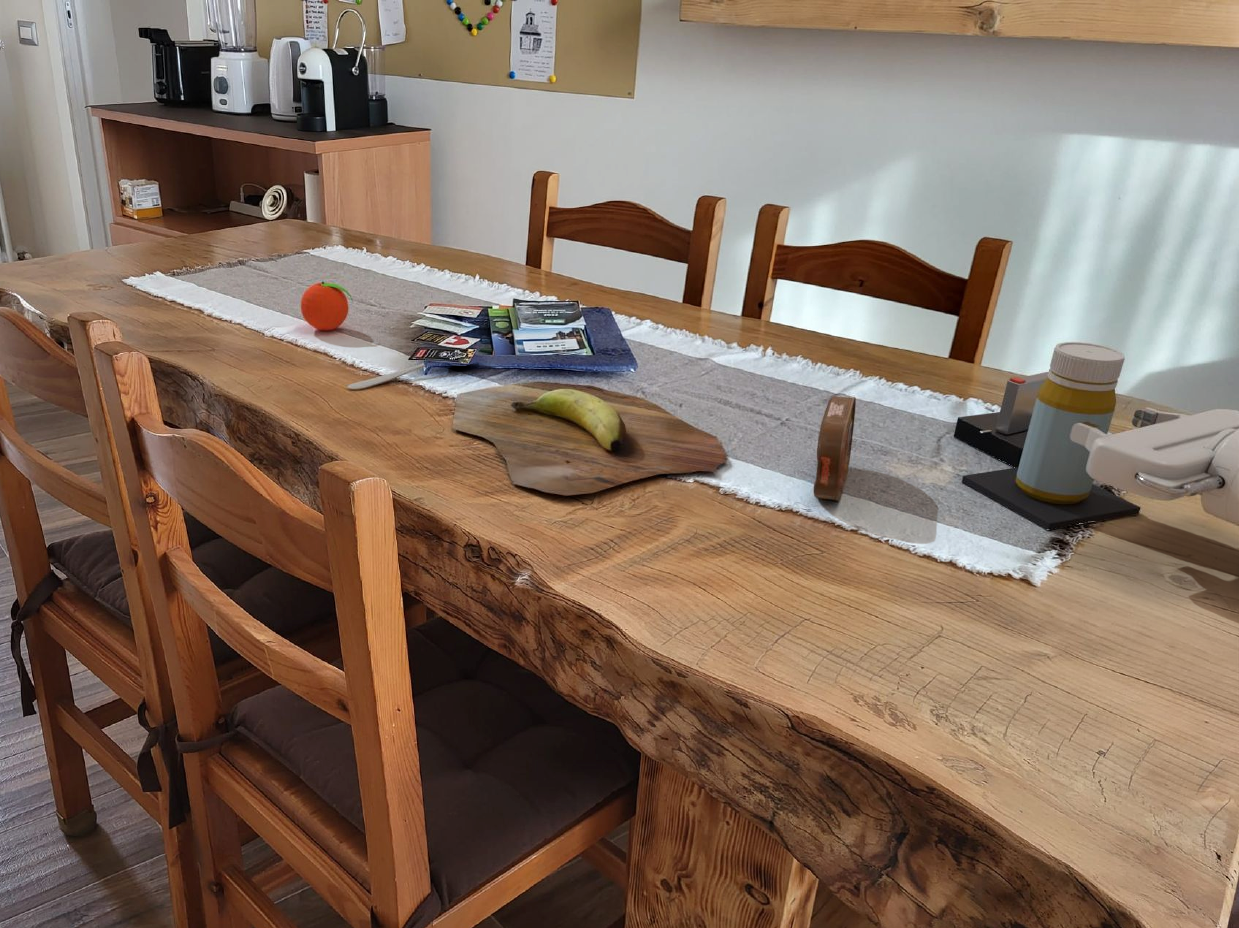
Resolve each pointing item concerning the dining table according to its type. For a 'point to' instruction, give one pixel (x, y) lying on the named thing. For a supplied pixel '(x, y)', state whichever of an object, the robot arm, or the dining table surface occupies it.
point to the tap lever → (1019, 403)
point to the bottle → (1068, 421)
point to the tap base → (991, 437)
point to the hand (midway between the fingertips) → (1107, 422)
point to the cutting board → (582, 436)
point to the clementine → (325, 306)
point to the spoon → (382, 378)
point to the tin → (834, 448)
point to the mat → (1045, 513)
